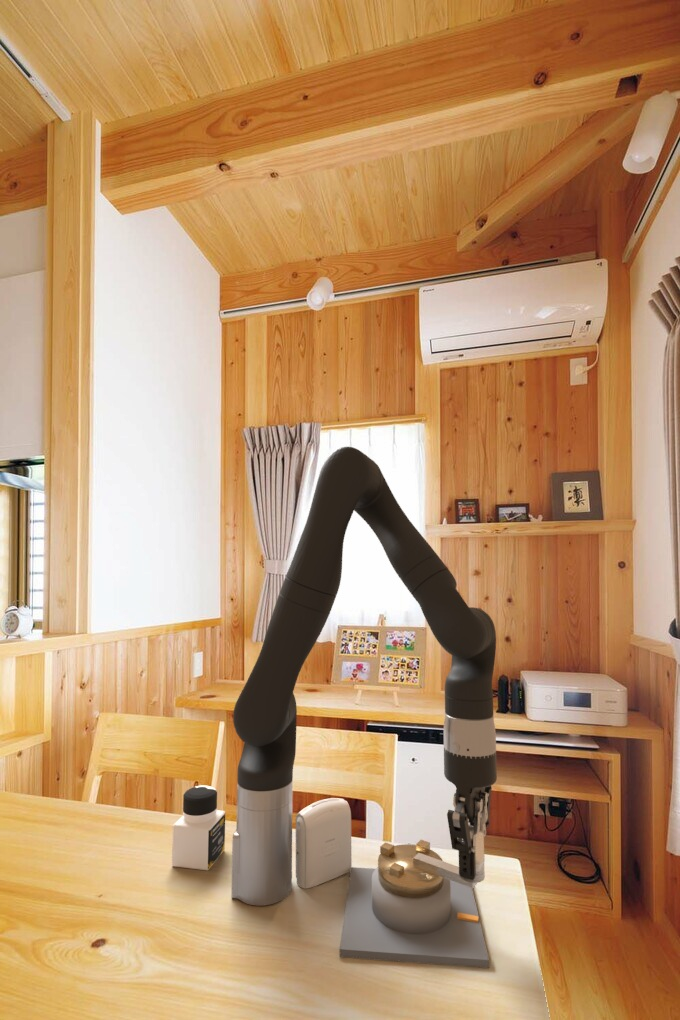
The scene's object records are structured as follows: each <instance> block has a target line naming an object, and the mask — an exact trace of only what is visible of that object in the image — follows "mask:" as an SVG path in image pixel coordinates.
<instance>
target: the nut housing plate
mask: <svg viewBox="0 0 680 1020" xmlns="http://www.w3.org/2000/svg"><path fill="white" fill-rule="evenodd" d="M349 872H350V874H349V881H348V887H347V894H346V900H345V901H346V902H345V909H344V915H343V922H342V931H341V937H340V944H339V957H340V958H347V959H349V958H350V959H361V960H362V959H363V960H364V959H365V960H375V961H387V962H388V961H389V962H402V963H416V964H417V963H418V964H429V965H431V964H432V965H443V966H457V967H468V968H469V967H470V968H471V967H473V968H483V969H484V968H486V969H489V968H490V958H489V954H488V951H487V945H486V942H485V938H484V933H483V928H482V925H481V921H480V917H479V912H478V908H477V904H476V900H475V895H474V891H473V888H470V887H468V886H465V885H462V884H460V883H457V882H454V881H452V880H449V879H446V878H444V883H443V886H442V888H441V889H440V890H439V891H438V892H437V893H435V894H433V895H430V896H427V897H421V898H409V897H403V896H399V895H396V894H394V893H391V892H390V891H388V890H386V889H385V888H384V887H383V886H382V885H381V883H380V882H379V879H378V866H377V867H376V868H372V867H371V868H370V867H367V868H365V867H352V866H351V870H350V871H349Z"/></svg>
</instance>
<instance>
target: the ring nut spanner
mask: <svg viewBox="0 0 680 1020" xmlns="http://www.w3.org/2000/svg"><path fill="white" fill-rule="evenodd" d="M462 840H463V839H462ZM379 851H380V852H379V853H380V854H379V855H378V858H377V867H378V879H379V882H380V883H381V885H382V886H383V887H384V888H385V889H386V890H388V891H390V892H391V893H394V894H396V895H399V896H403V897H409V898H421V897H427V896H430V895H433V894H435V893H437V892H438V891H439V890H440V889H441V888H442V886H443V883H444V878H446V879H449V880H452V881H454V882H457V883H460V884H462V885H465V886H468V887H470V888H472V889H474V888H475V887H476V886H477V884H478V883H481V882H483V881H484V880H485V875H486V874H485V873H486V872H485V861H484V860H485V837H484V832H483V830H482V829H480V831H479V833H477V834H476V850H475V858H476V876H475V878H474V879H473V880H470V879H466V878H463V877H461V876H460V875H459V865H458V866H457V865H455V864H452V863H449V862H446V861H444V860H443V859H442V857H441V856H440V855H439V854H438V853H436V852H435V851H434V850H432V849H431V842H430V841H426V840H424V839H420V840H419V841H418V842H416V844H406V843H405V844H397V845H394V844H391V843H388V842H384V843H383V844H382V845H380V850H379ZM457 853H458V854H459V850H457Z"/></svg>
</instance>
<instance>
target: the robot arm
mask: <svg viewBox="0 0 680 1020" xmlns="http://www.w3.org/2000/svg"><path fill="white" fill-rule="evenodd" d="M316 482H317V483H316V486H315V489H314V493H313V496H312V501H311V505H310V508H309V511H308V512H309V513H308V515H307V517H306V518H307V519H306V522H305V525H304V527H303V530H302V533H301V535H300V537H299V541H298V543H297V546H296V549H295V550H294V551H295V552H294V554H293V557H292V560H291V562H290V564H289V567H288V570H287V572H286V574H285V577H284V580H283V582H282V585H281V587H280V591H279V593H278V595H277V599H276V602H275V605H274V608H273V610H272V613H271V617H270V620H269V622H268V626H267V629H266V633H265V636H264V639H263V643H262V646H261V649H260V651H259V654H258V657H257V659H256V661H255V663H254V666H253V668H252V669H251V672H250V674H249V676H248V679H247V680H246V682H245V685H244V686H243V688H242V690H241V692H240V693H239V696H238V698H237V699H236V701H235V705H234V707H233V714H232V716H233V717H232V718H233V719H232V720H233V727H234V730H235V732H236V734H237V736H238V737H239V739H241V741H242V742H243V748H242V752H241V755H240V759H239V761H238V765H237V772H236V773H237V775H236V777H237V780H236V781H237V782H236V783H237V785H236V829H235V831H234V832H233V834H232V840H231V841H232V843H231V844H232V845H231V846H232V851H231V854H232V855H231V898H232V899H237V900H240V901H241V902H243V903H244V904H247V905H251V906H262V907H263V906H270V905H273V904H276V903H279V902H281V901H282V900H284V899H286V897H288V896H289V894H291V891H292V887H293V884H292V883H293V783H294V782H293V778H294V777H293V775H294V774H293V773H294V764H295V759H296V758H295V757H296V752H297V751H296V750H297V722H298V720H297V718H298V717H297V716H298V714H297V713H298V712H297V710H298V708H297V700H296V697H295V694H294V690H295V687H296V684H297V680H298V677H299V674H300V672H301V669H302V667H303V666H304V664H305V662H306V660H307V658H308V656H309V655H310V653H311V652H312V650H313V647H314V646H315V644H316V643H317V641H318V639H319V637H320V635H321V633H322V631H323V629H324V627H325V625H326V623H327V620H328V619H329V616H330V614H331V612H332V608H333V605H334V603H335V601H336V597H337V595H338V592H339V589H340V585H341V580H342V570H343V555H344V554H343V550H344V539H345V536H346V532H347V528H348V525H349V523H350V522H351V521H350V520H351V518H352V516H353V513H354V512H355V513H357V515H358V516H360V517H361V519H362V520H363V521H365V523H366V524H367V525H368V526H369V527H370V529H371V530H372V532H373V533H374V534H375V536H376V537H377V539H378V541H379V543H380V544H381V546H382V548H383V550H384V552H385V555H386V557H387V558H388V561H389V563H390V565H391V567H392V568H393V570H394V571H395V573H396V574H397V577H398V578H399V579H400V581H402V583H403V585H404V586H405V587H406V589H407V590H408V592H409V593H410V594H411V595H412V597H413V598H414V599H415V601H416V602H417V603H418V605H419V607H420V609H421V612H422V614H423V616H424V619H425V621H426V622H427V625H428V626H429V629H430V631H431V633H432V634H433V636H434V638H435V640H437V642H438V644H439V645H440V646H441V648H443V649H444V650H445V651H446V652H447V653H448V654H449V655H451V667H450V671H449V673H448V674H447V676H446V678H445V683H444V719H443V771H444V772H443V775H444V777H445V779H446V780H447V781H448V782H450V783H452V784H453V785H454V787H455V788H456V789H455V792H454V794H453V803H452V805H453V807H454V810H451V809H448V811H447V814H446V816H447V824H448V831H449V836H450V843H451V849H452V850H456V851H458V850H459V853H458V867H459V875H460V876H461V877H463V878H466V879H470V880H473V879H474V878H475V876H476V858H475V850H476V834H477V833H479V831H480V829H482V830H483V832H484V838H485V837H486V835H487V828H489V826H490V823H491V822H490V816H491V815H490V814H491V799H492V798H491V797H492V789H493V787H492V786H493V785H494V784H495V783H496V782H497V780H498V779H497V778H498V773H497V772H498V769H497V734H496V733H497V732H496V726H495V725H496V724H495V717H494V691H493V676H494V670H495V669H494V667H495V660H496V650H497V633H496V627H495V623H494V621H493V619H492V618H491V616H490V615H489V614H488V612H486V611H485V610H483V609H481V608H478V607H470V606H468V604H467V603H466V602H465V600H464V598H463V597H462V596H461V594H460V592H459V590H457V586H458V585H457V584H458V583H457V581H456V579H455V576H454V575H453V573H452V572H451V570H449V568H448V567H447V565H446V564H445V563H444V562H443V560H442V559H441V557H440V556H439V555H438V554H437V553H436V551H435V549H433V548H432V546H431V545H430V544H429V542H428V541H427V540H426V539H425V538H424V536H423V535H422V534H421V532H419V530H418V529H417V527H415V525H414V524H413V523H412V522H411V520H409V519H410V518H408V516H407V515H406V513H405V512H404V510H403V509H402V507H401V506H400V504H399V503H398V501H397V499H396V497H395V495H394V494H393V492H392V490H391V488H390V486H389V484H388V482H387V480H386V478H385V476H384V474H383V472H382V471H381V468H380V467H379V465H378V464H377V463H376V462H375V461H374V460H373V459H372V458H370V457H369V456H367V454H365V453H364V452H362V451H361V450H359V449H357V448H355V447H352V446H343V447H339V448H337V449H335V450H334V451H332V453H331V454H329V455H328V457H326V459H325V460H324V462H323V464H322V466H321V468H320V471H319V474H318V479H317V481H316ZM462 839H463V840H462ZM485 860H486V859H484V862H485Z"/></svg>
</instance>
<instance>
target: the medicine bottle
mask: <svg viewBox="0 0 680 1020" xmlns="http://www.w3.org/2000/svg"><path fill="white" fill-rule="evenodd" d="M182 797H183V799H182V800H183V803H182V805H183V806H182V816H181V817H180V818H179V819H178V820H177V821H176V822H175V823H173V825H172V850H171V854H172V855H171V866H172V867H174V868H175V867H176V868H185V869H191V870H201V871H209V870H210V869H211V868H212V867H213V865H214V864H215V863H216V862H217V860H218V859H219V857H220V856H221V855H222V854H223V853H224V851H225V848H226V847H225V843H226V840H225V839H226V811H225V810H219V809H218V791H217V789H216V788H215V787H213V786H209V785H203V784H202V785H196V786H193V787H191V788H189V789H187V790H186V791H185V792H184V794H183V795H182Z"/></svg>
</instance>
